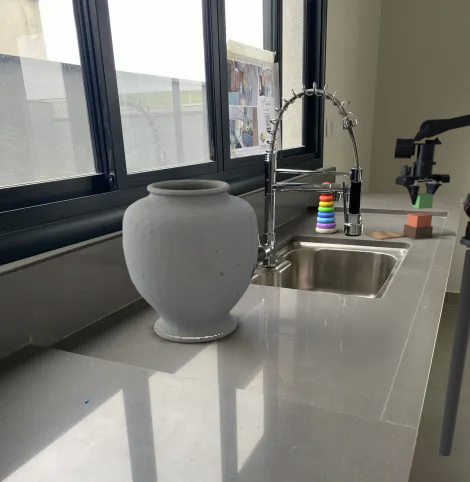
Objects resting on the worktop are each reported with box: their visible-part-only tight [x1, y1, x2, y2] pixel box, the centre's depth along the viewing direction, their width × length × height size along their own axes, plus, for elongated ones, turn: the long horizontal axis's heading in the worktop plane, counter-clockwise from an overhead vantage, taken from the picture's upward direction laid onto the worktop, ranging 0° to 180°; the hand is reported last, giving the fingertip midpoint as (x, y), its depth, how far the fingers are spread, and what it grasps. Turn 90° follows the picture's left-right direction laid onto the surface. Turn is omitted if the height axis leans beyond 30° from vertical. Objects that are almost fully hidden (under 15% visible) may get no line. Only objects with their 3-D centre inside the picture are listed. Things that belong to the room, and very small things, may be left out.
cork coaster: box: [366, 230, 406, 240], centre depth 184 cm, size 10×10×1 cm
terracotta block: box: [406, 211, 433, 228], centre depth 178 cm, size 6×6×4 cm
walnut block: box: [402, 223, 434, 240], centre depth 180 cm, size 7×7×4 cm
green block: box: [411, 192, 434, 210], centre depth 175 cm, size 5×5×4 cm
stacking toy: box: [315, 182, 338, 235], centre depth 189 cm, size 8×8×19 cm
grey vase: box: [122, 179, 259, 344], centre depth 101 cm, size 27×27×30 cm
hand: (420, 204), depth 176 cm, fingers closed on green block, 5 cm apart
